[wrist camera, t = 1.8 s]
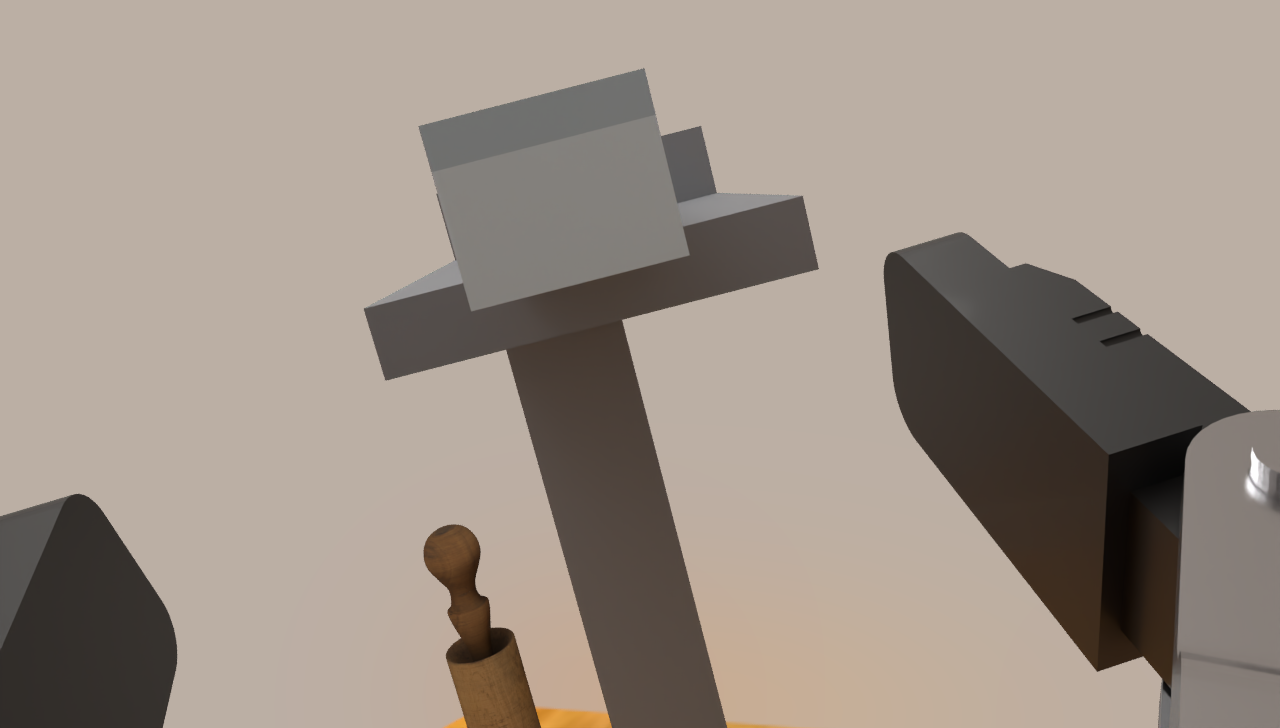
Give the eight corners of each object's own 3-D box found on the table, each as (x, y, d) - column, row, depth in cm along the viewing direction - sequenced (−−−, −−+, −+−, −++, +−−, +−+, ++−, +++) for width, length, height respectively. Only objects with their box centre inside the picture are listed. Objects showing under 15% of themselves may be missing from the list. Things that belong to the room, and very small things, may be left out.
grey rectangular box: (689, 255, 18) (644, 67, 17) (471, 311, 18) (418, 126, 17) (633, 217, 42) (613, 137, 41) (538, 241, 42) (517, 162, 41)
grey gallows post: (1019, 1177, 33) (777, 82, 26) (656, 1271, 33) (330, 197, 26) (856, 801, 53) (696, 128, 46) (631, 860, 53) (442, 193, 46)
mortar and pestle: (552, 865, 54) (458, 551, 51) (454, 856, 57) (359, 559, 53) (606, 786, 60) (524, 500, 56) (514, 782, 62) (432, 509, 59)
